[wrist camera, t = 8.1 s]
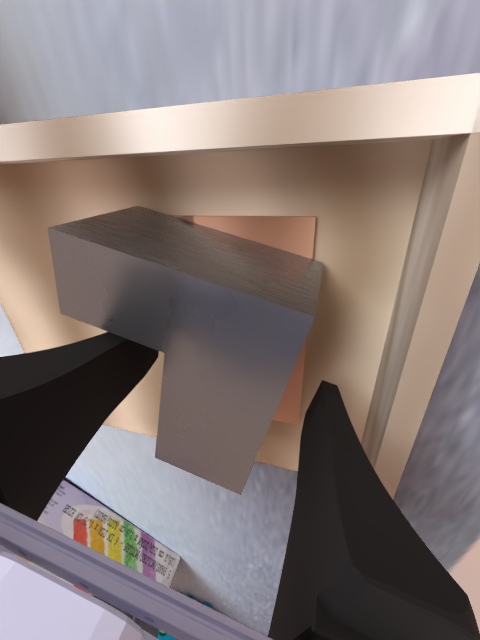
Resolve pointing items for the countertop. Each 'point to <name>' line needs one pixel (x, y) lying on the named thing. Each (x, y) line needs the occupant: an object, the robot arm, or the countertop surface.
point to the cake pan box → (108, 538)
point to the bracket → (194, 325)
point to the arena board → (279, 232)
